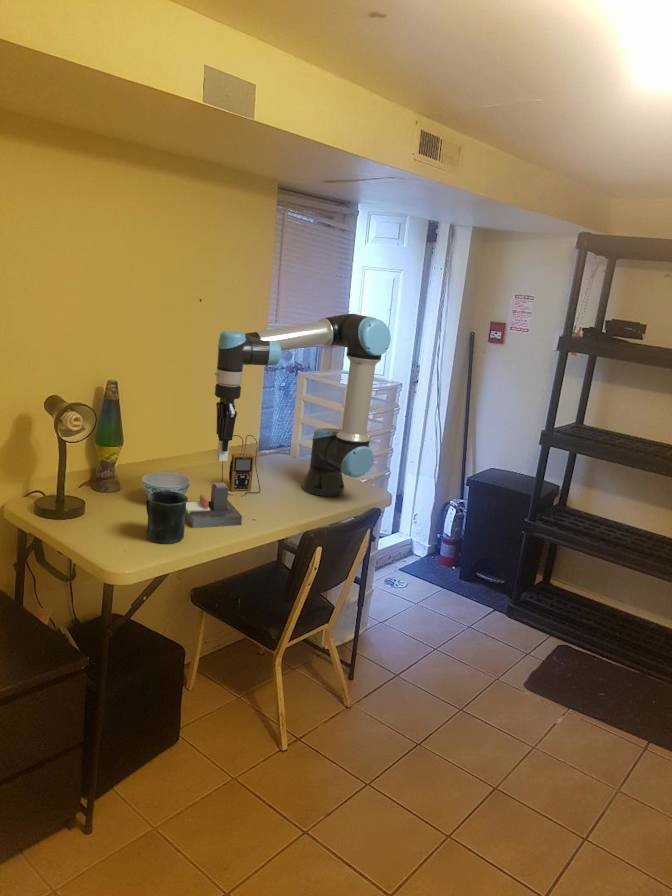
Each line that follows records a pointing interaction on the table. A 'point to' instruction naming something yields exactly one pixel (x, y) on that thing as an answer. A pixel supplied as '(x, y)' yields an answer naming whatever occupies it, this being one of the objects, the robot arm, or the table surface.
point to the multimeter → (241, 471)
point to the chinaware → (165, 482)
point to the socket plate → (214, 517)
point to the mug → (166, 516)
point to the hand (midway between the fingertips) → (222, 460)
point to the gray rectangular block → (219, 496)
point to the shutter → (198, 505)
